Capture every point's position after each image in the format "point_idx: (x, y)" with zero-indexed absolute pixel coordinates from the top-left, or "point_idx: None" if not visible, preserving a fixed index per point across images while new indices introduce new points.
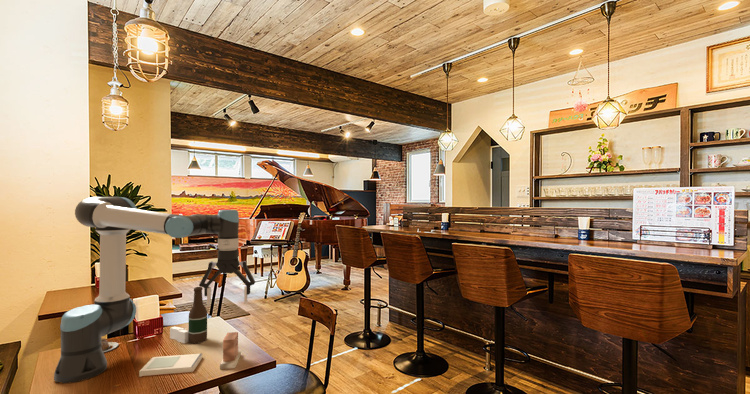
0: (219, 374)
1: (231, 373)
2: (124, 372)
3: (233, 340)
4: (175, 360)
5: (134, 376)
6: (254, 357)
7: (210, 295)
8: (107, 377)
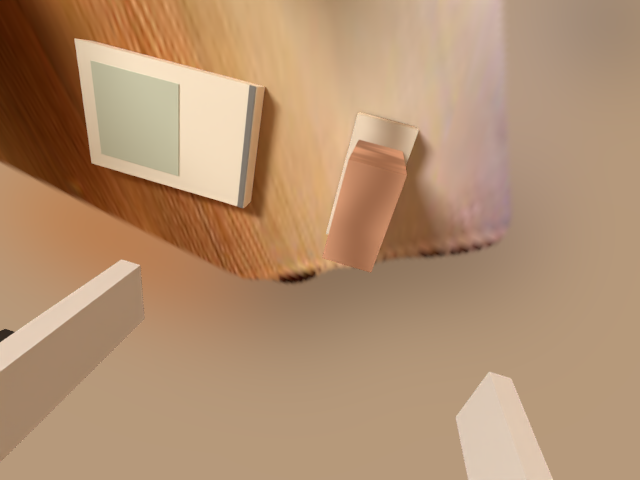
0: None
1: None
2: (45, 101)
3: (367, 269)
4: (171, 123)
5: None
6: (464, 174)
7: (63, 344)
8: (18, 119)
